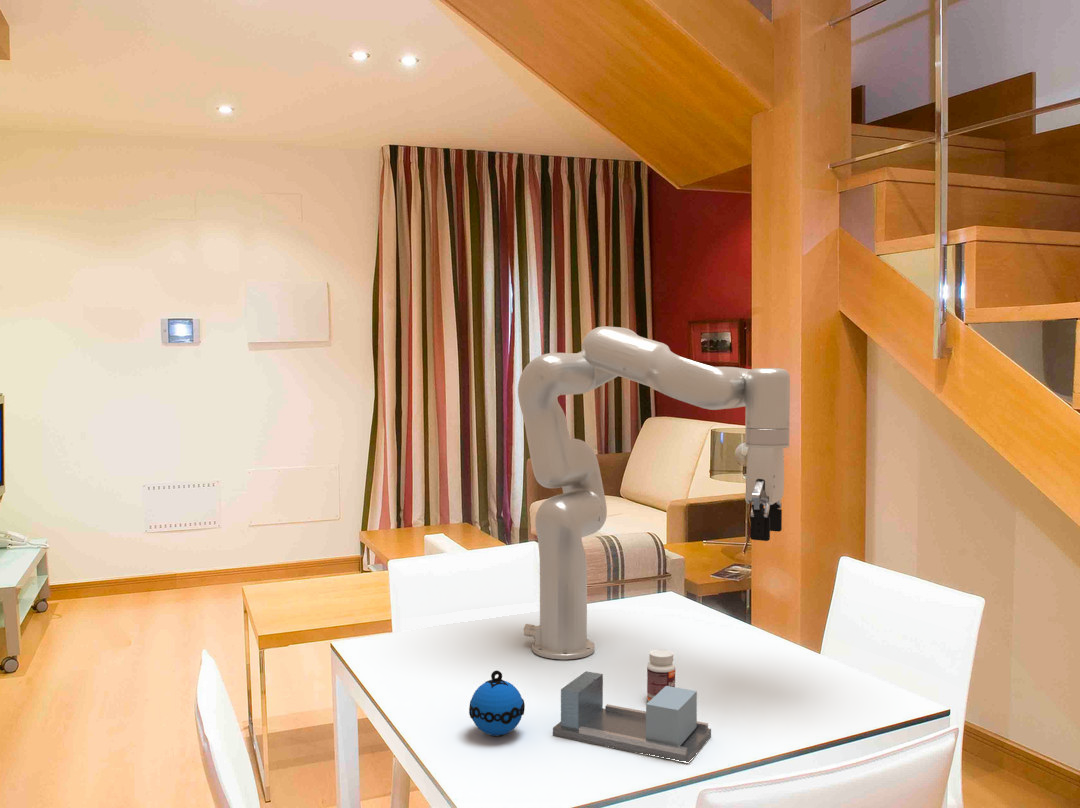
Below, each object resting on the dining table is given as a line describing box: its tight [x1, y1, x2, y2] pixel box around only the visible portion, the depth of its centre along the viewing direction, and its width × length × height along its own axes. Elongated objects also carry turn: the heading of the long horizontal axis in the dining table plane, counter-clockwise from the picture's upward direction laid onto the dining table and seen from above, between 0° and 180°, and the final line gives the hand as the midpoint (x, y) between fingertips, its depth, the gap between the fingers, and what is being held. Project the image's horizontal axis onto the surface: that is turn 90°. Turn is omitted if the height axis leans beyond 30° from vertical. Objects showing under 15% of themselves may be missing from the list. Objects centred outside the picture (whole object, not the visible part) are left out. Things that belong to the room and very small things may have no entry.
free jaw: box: [645, 686, 698, 746], centre depth 138 cm, size 5×9×6 cm, turn 152°
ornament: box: [468, 670, 526, 737], centre depth 142 cm, size 9×9×10 cm
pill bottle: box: [646, 649, 676, 703], centre depth 156 cm, size 5×5×8 cm
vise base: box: [552, 670, 712, 762], centre depth 141 cm, size 22×11×7 cm, turn 62°
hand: (766, 535), depth 160 cm, fingers open, 9 cm apart
